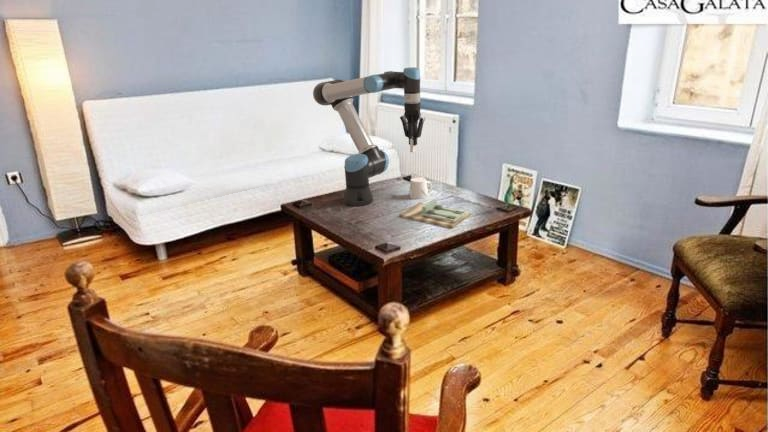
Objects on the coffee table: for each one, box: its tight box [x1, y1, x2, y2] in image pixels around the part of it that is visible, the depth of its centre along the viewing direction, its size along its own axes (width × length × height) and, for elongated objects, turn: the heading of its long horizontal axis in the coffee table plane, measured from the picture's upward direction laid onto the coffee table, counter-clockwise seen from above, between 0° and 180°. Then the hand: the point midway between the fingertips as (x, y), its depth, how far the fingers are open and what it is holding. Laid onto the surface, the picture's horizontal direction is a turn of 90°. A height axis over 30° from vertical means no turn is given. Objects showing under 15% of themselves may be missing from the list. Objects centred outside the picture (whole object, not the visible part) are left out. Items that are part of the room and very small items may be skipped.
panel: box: [421, 199, 467, 222], centre depth 231 cm, size 17×12×4 cm
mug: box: [408, 176, 433, 200], centre depth 259 cm, size 12×9×8 cm
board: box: [399, 202, 472, 229], centre depth 234 cm, size 28×18×4 cm, turn 55°
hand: (413, 151), depth 242 cm, fingers closed
